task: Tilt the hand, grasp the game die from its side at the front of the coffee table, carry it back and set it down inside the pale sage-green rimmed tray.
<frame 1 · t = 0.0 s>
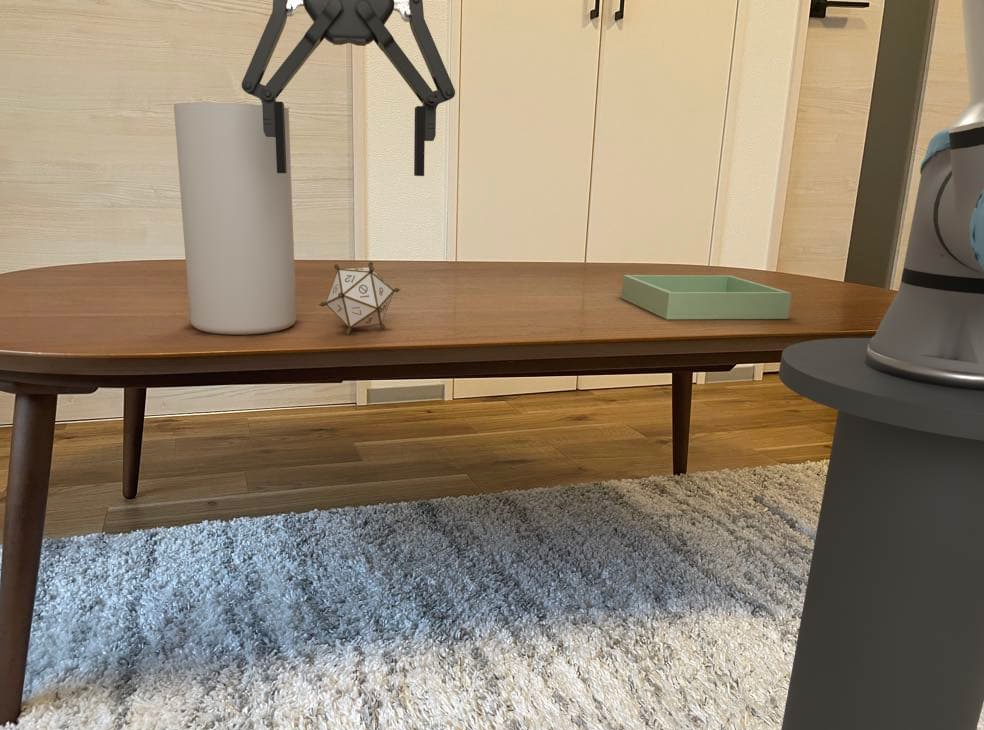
hand: (351, 175, 77), 18 cm above the table, tool pointing down, fingers open, 13 cm apart
cylinder vase: (244, 327, 95), on the table
game die: (360, 331, 94), on the table
tray: (699, 307, 114), on the table
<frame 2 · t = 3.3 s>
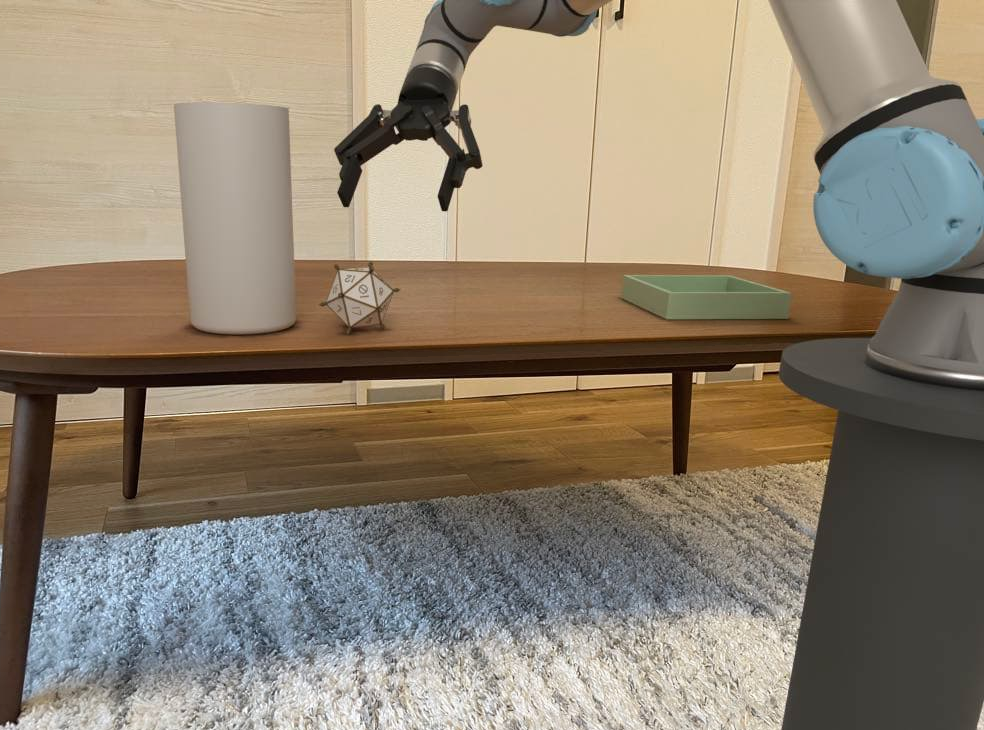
hand: (391, 202, 99), 15 cm above the table, tool tilted 45°, fingers open, 13 cm apart
nothing on the table moved.
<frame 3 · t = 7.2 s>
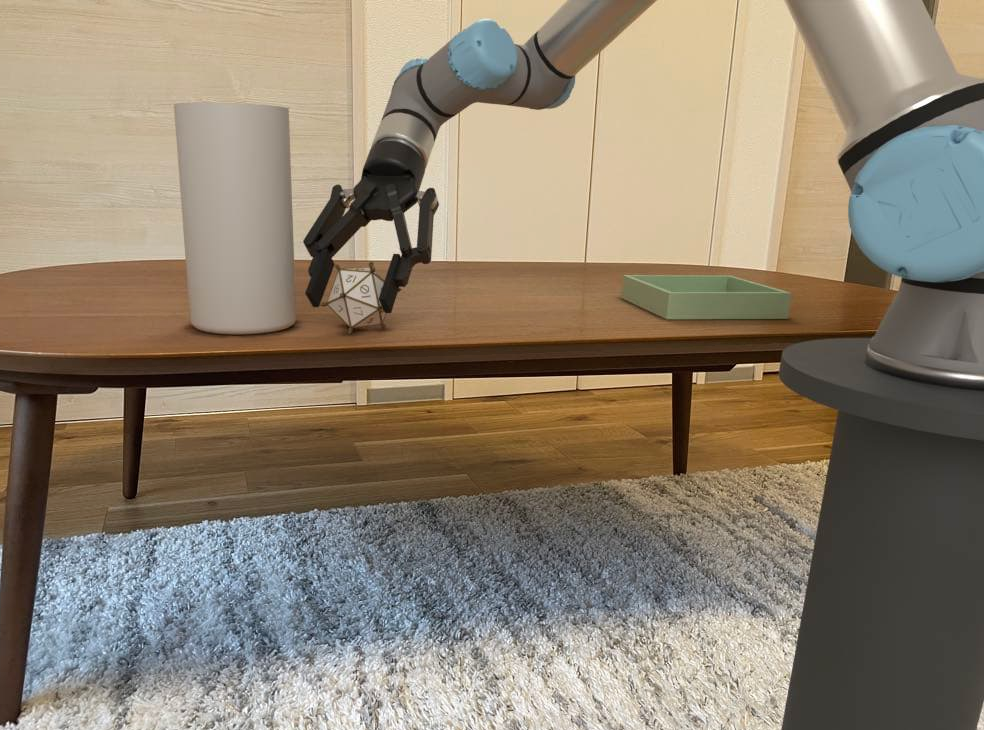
hand: (347, 303, 90), 4 cm above the table, tool tilted 45°, fingers closed on game die, 8 cm apart
game die: (361, 331, 94), on the table, touching gripper
everything else where it was.
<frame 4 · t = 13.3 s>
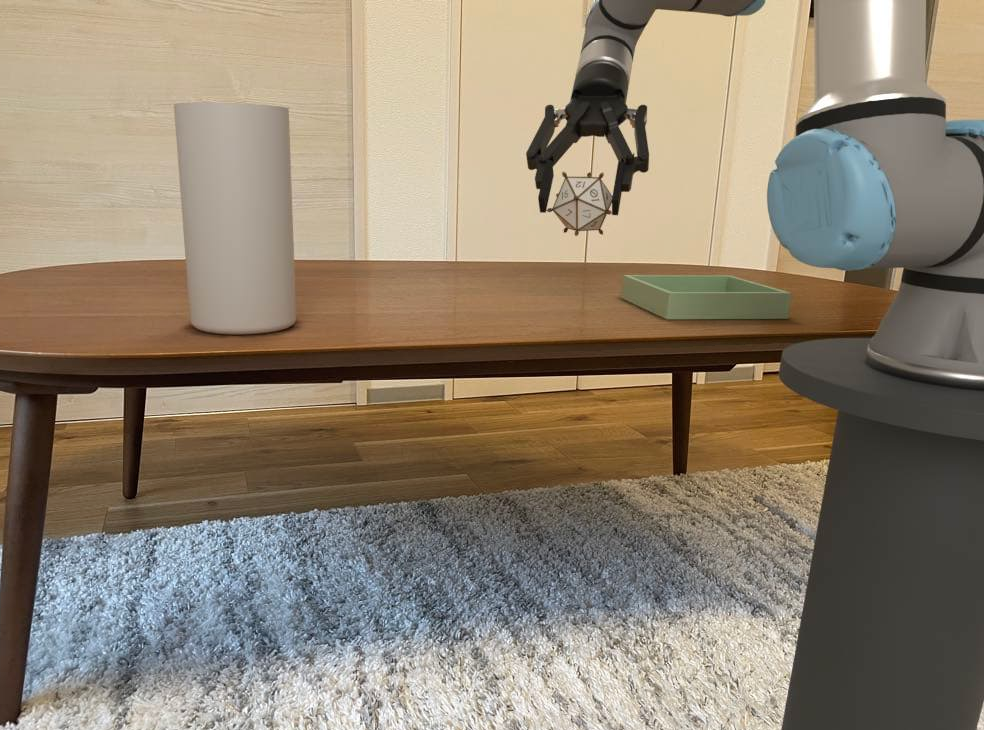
hand: (578, 206, 98), 15 cm above the table, tool tilted 45°, fingers closed on game die, 8 cm apart
game die: (580, 236, 102), point 11 cm above the table, touching gripper
everything else where it was.
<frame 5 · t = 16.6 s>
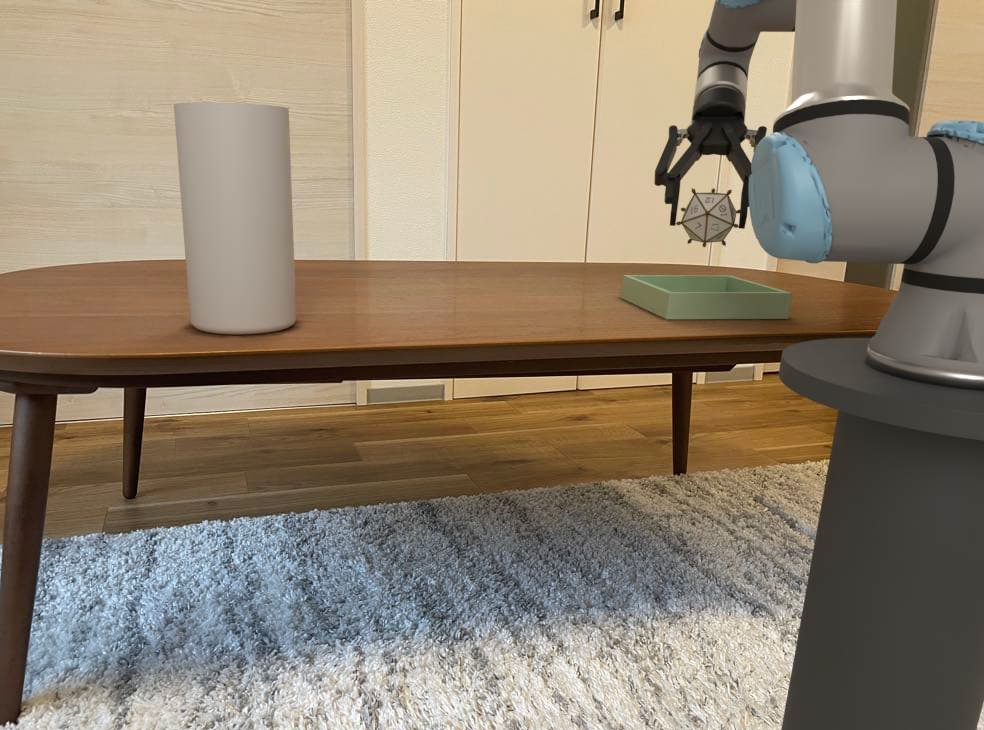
hand: (707, 220, 107), 13 cm above the table, tool tilted 45°, fingers closed on game die, 8 cm apart
game die: (705, 247, 111), point 9 cm above the table, touching gripper
everything else where it was.
when the fingers open (4 cm above the table, at t = 19.3 s): game die stays where it is, resting on tray.
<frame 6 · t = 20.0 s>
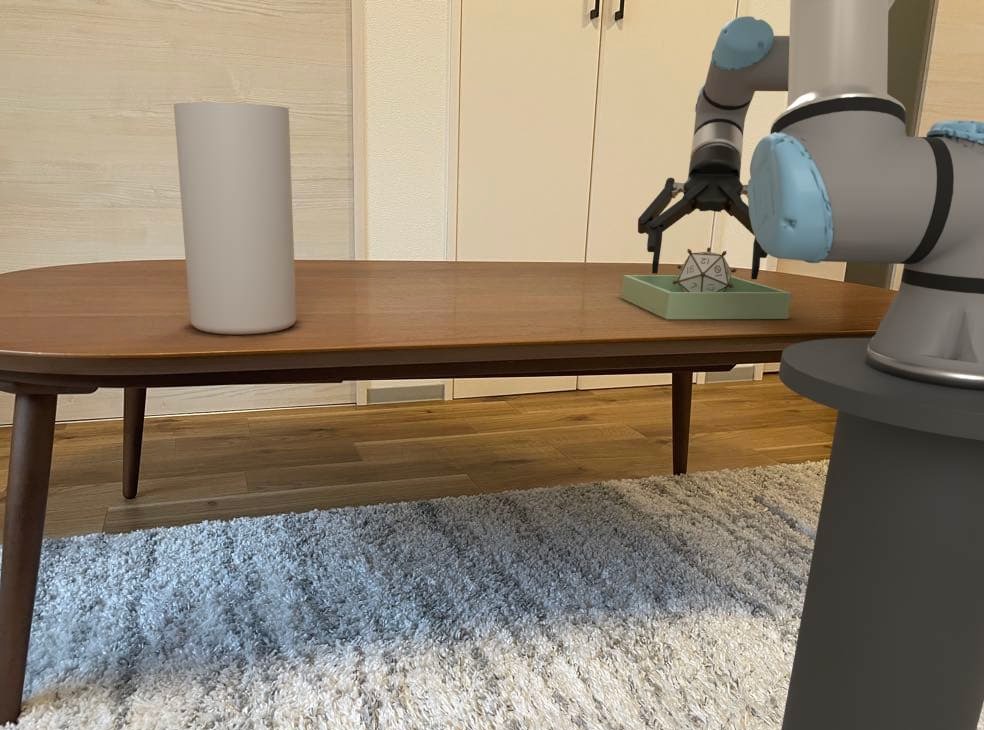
hand: (704, 270, 110), 6 cm above the table, tool tilted 45°, fingers open, 13 cm apart
game die: (701, 305, 114), resting on tray
everything else where it was.
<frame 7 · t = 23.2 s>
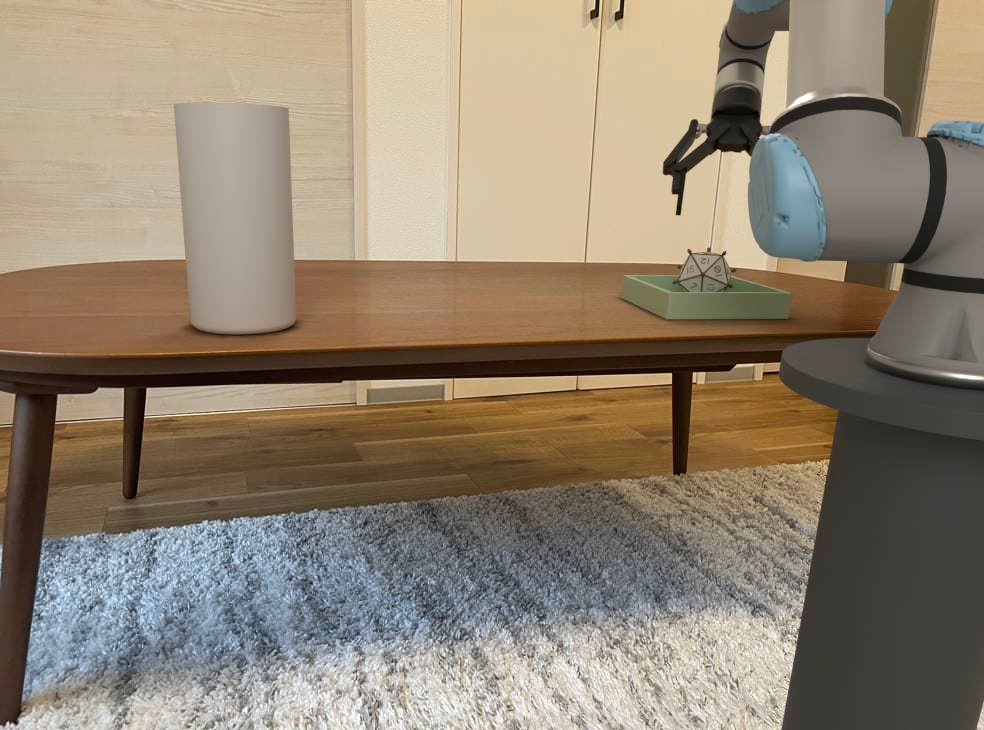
hand: (724, 213, 120), 13 cm above the table, tool tilted 35°, fingers open, 13 cm apart
nothing on the table moved.
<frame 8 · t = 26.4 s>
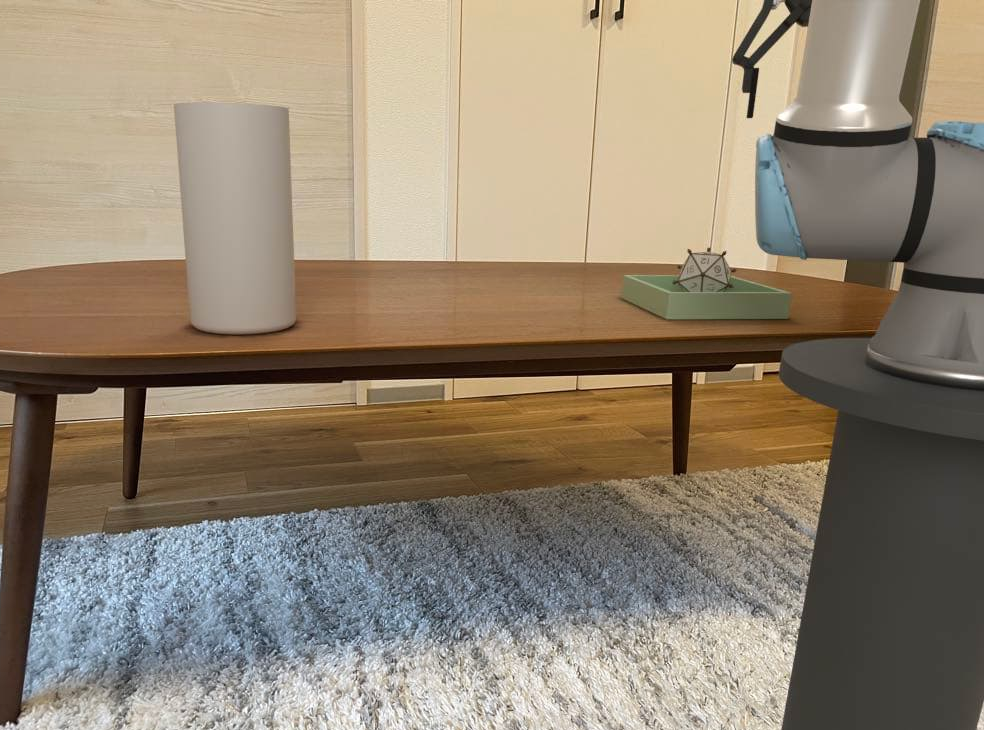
hand: (800, 118, 110), 27 cm above the table, tool pointing down, fingers open, 13 cm apart
nothing on the table moved.
at the end: game die inside the target area in the tray (0.2 cm from its centre), point 0.4 cm above the tray's base; the gripper is holding nothing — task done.
